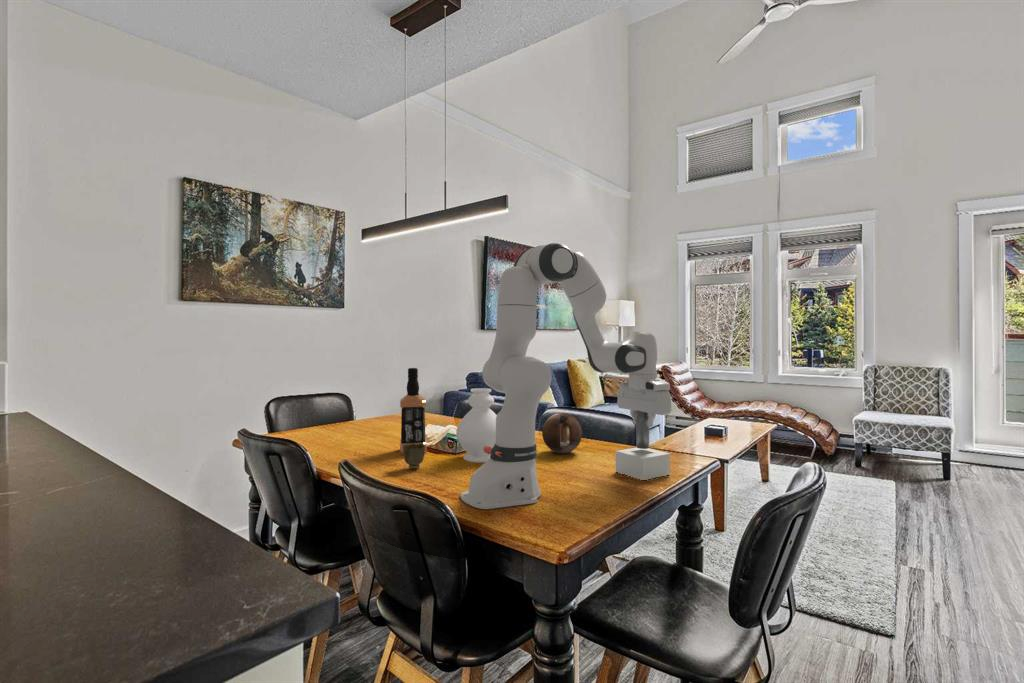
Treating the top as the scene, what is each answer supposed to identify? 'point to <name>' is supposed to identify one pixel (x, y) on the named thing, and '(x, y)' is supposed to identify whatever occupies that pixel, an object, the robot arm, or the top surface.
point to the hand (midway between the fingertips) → (642, 425)
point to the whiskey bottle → (412, 413)
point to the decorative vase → (478, 426)
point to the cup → (414, 455)
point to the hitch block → (642, 463)
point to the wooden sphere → (562, 433)
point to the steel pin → (642, 430)
